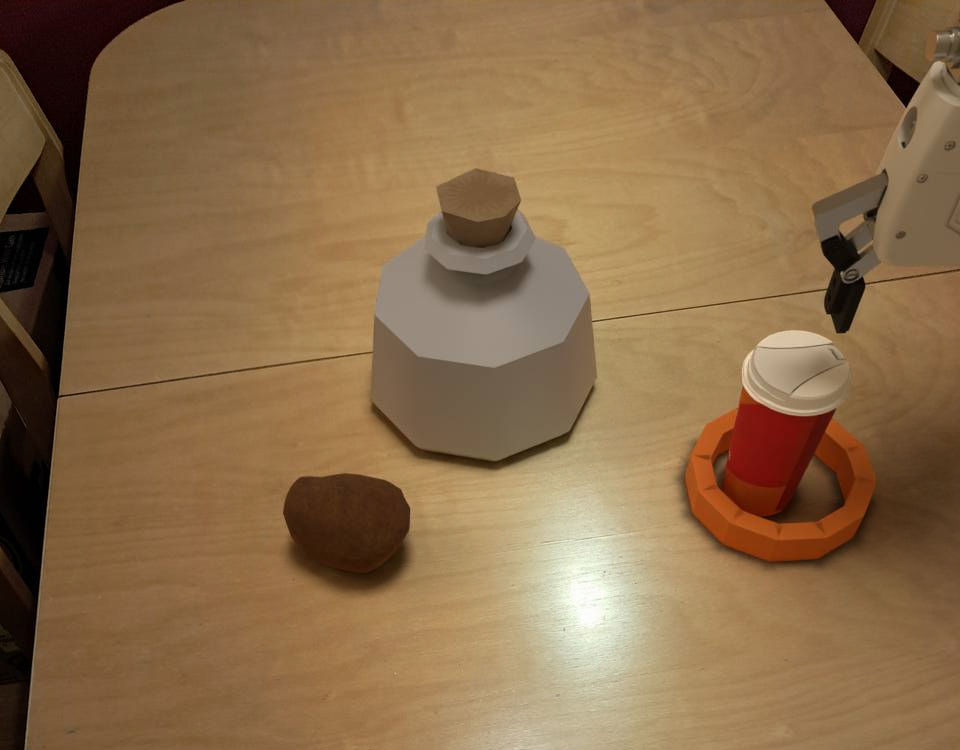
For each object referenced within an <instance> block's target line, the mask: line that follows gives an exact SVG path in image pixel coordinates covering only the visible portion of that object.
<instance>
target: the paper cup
mask: <svg viewBox="0 0 960 750" xmlns="http://www.w3.org/2000/svg"><path fill="white" fill-rule="evenodd" d="M834 344H835V343H834V341H832V340H830V339H829V338H827V337H825V336H823V335H820V334H818V333H815V332H811V331H807V330H801V329H799V330H798V329H791V330H781V331H778V332H775V333H772V334H769V335H768V336H766V337H764V338H763V339H762V340H760V341H759V342H758V343H757V344H756V346H755V347H754V348H753V349H752V350H750V352H749V353H748V354H747V355H746V357H745V358H744V360H743V363H742V365H741V366H742V367H741V384H742V388H741V391H740V397H739V401H738V405H737V408H738V410H737V415H736V420H735V424H734V429H733V434H732V439H731V444H730V448H729V450H728V453H727V460H726V463H725V464H726V465H725V469H724V474H723V479H722V492H723V493H724V494H725V495H727V496H728V497H729V498H730V499H731V500H732V501H733V502H734V503H735V504H736V505H737V506H738V507H739V508H740V509H741V510H742V511H745V512H747V513H750V514H753V515H756V516H758V517H770V516H773V515H776V514H778V513H780V512H783V510H784V509H785V508H787V506H788V504H789V503H790V502H791V500H792V498H793V496H794V494H795V492H796V491H797V488H798V486H799V484H800V483H801V481H802V480H803V479H802V478H803V477H804V475H805V473H806V471H807V469H808V467H809V465H810V463H811V461H812V459H813V457H814V455H815V454H814V453H815V451H816V449H817V447H818V445H819V443H820V441H821V439H822V437H823V435H824V433H825V431H826V429H827V427H828V425H829V423H830V421H831V419H832V418H833V417H834V415H835V413H836V411H837V409H838V407H840V406H841V405H843V403H844V402H845V401H846V400H847V398H848V397H849V395H850V393H851V388H852V378H851V368H850V363H849V362H846V357H845V355H844V354H843V353H842V352H841V350H840V349H839V348H838V347H835V346H834Z"/></svg>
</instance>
